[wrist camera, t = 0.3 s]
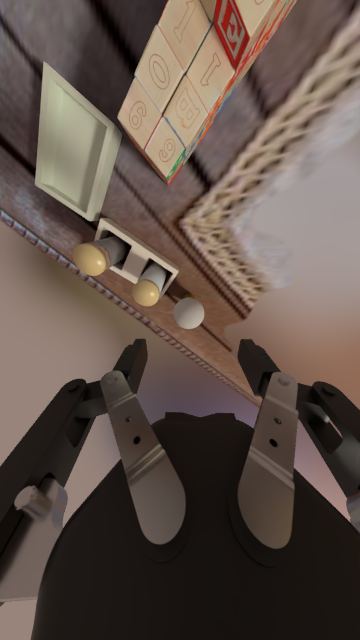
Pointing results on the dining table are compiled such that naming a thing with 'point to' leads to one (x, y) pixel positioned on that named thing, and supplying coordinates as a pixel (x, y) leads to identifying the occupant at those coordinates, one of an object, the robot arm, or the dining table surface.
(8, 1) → the dining table surface
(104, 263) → the cylinder
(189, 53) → the stack of blocks
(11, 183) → the dining table surface
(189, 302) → the light bulb
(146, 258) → the tray
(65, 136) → the parts tray
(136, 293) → the fuse
